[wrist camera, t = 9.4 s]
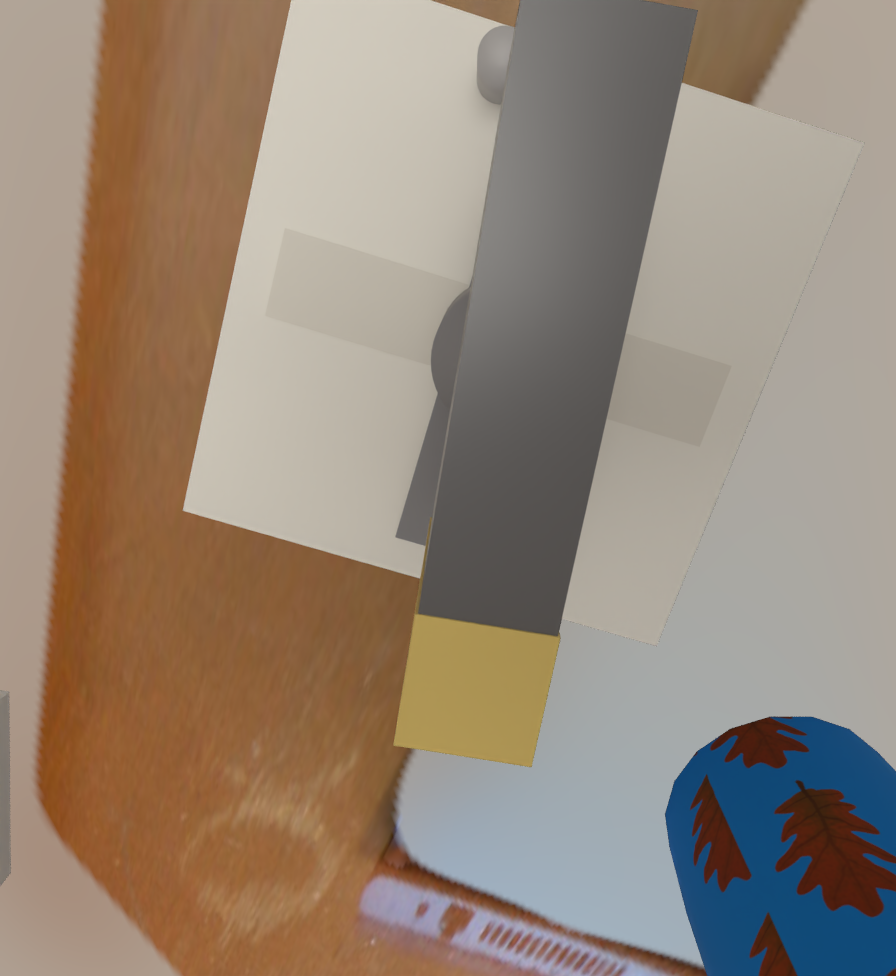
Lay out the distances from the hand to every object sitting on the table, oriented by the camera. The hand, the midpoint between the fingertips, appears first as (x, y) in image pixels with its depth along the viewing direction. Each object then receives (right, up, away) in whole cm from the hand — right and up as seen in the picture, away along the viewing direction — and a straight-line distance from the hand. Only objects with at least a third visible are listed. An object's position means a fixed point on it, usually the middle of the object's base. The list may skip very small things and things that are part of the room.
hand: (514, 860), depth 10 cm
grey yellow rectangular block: (+1, +8, +13) cm, 15 cm away
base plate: (+1, +11, +21) cm, 23 cm away
